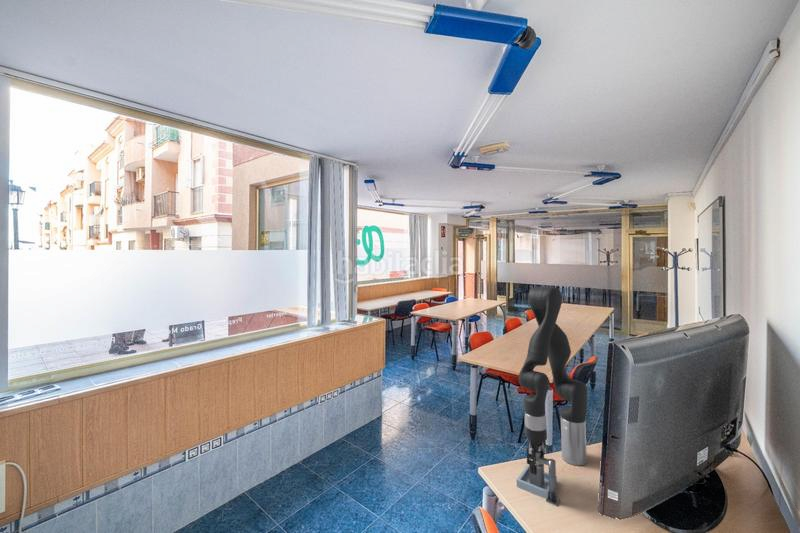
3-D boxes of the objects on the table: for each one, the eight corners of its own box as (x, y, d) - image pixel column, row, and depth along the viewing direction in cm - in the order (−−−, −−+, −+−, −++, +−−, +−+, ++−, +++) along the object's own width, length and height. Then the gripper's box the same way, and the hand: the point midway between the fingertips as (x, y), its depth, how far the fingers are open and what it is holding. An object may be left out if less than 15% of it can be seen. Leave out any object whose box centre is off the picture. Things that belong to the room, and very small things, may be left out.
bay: (527, 471, 130) (526, 465, 130) (556, 482, 123) (556, 476, 123) (516, 486, 122) (516, 479, 122) (548, 499, 115) (547, 492, 115)
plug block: (533, 478, 126) (532, 454, 125) (544, 482, 123) (543, 458, 123) (529, 483, 123) (528, 459, 122) (540, 488, 120) (540, 463, 120)
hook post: (538, 491, 119) (537, 448, 119) (560, 500, 114) (558, 456, 114) (534, 496, 116) (533, 453, 116) (557, 506, 112) (555, 461, 111)
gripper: (531, 414, 130) (533, 454, 130) (518, 430, 119) (520, 474, 119) (551, 419, 125) (553, 461, 126) (540, 436, 114) (541, 482, 115)
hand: (537, 467), depth 122 cm, fingers open, 8 cm apart
